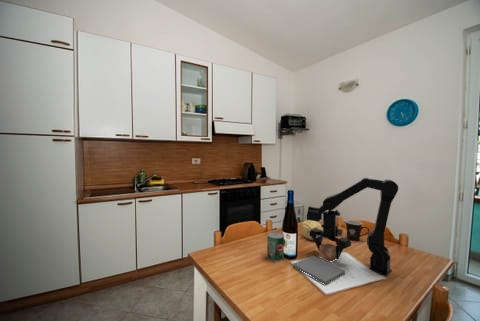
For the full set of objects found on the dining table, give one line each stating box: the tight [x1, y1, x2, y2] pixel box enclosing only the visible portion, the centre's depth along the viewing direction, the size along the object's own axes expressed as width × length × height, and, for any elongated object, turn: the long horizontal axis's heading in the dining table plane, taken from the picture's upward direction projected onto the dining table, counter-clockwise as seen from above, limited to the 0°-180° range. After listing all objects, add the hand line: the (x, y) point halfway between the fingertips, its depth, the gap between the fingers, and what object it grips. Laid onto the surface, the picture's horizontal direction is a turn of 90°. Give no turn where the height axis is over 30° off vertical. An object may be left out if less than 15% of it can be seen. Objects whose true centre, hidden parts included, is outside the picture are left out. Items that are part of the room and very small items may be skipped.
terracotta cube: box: [318, 242, 338, 262], centre depth 102 cm, size 6×6×6 cm
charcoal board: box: [292, 255, 346, 286], centre depth 91 cm, size 16×14×2 cm
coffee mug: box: [345, 219, 370, 242], centre depth 125 cm, size 12×9×10 cm
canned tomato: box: [266, 231, 285, 262], centre depth 103 cm, size 8×8×11 cm
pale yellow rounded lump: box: [301, 220, 323, 241], centre depth 127 cm, size 11×12×11 cm
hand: (328, 255), depth 102 cm, fingers open, 9 cm apart
